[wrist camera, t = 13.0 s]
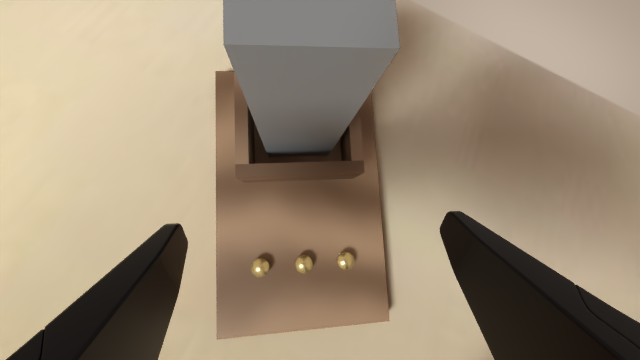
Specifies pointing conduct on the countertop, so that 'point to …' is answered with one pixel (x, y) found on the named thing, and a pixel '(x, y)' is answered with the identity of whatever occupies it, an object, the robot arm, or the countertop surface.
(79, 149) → the countertop surface
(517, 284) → the robot arm
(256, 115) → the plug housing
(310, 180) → the walnut holder
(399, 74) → the countertop surface
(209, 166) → the countertop surface
